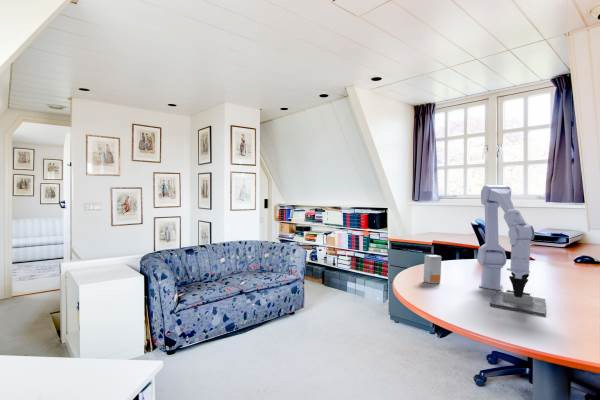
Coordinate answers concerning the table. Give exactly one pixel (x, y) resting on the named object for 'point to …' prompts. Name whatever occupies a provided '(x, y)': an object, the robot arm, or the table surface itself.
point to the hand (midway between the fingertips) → (518, 294)
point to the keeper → (519, 305)
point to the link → (525, 299)
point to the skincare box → (432, 268)
